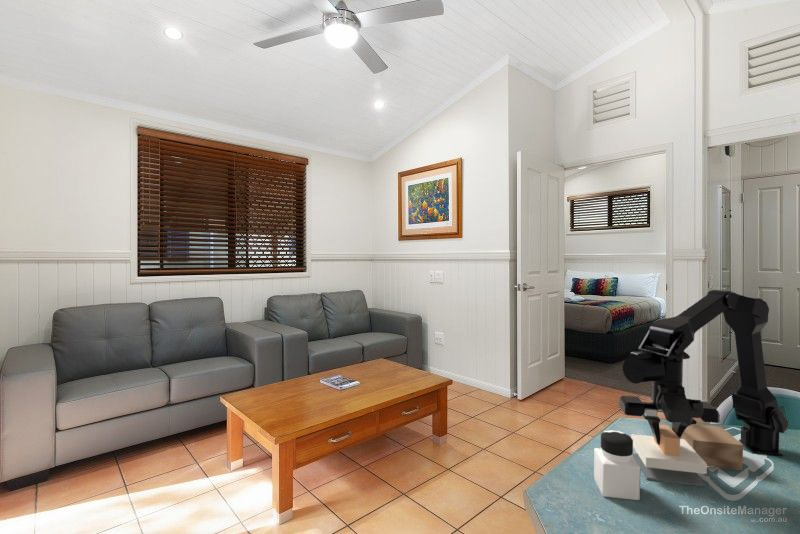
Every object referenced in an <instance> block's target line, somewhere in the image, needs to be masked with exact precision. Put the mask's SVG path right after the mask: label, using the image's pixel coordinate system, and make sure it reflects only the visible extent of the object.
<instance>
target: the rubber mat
mask: <svg viewBox="0 0 800 534" xmlns="http://www.w3.org/2000/svg"><path fill="white" fill-rule="evenodd" d="M633 458H634V459H635V461H636V462H637V463H638V465H639V466H640V472H641V473H642V474H643V476H644V477H645V480H647V481H654V482H662V483H672V484H679V485H687V486H694V487H695V486H696V487H705V484H704V483H703V481H702V480H701V479H700V478H699V477H698V475H697V473H693V472H685V471H676V470H667V469H658V468H649V467H646V466H645V465H644V463H643V461H642V460H641V458H640V457H639V455H638V453H634V452H633Z"/></svg>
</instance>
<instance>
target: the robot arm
mask: <svg viewBox="0 0 800 534" xmlns="http://www.w3.org/2000/svg"><path fill="white" fill-rule="evenodd" d="M769 313H770V308H769V305H768V303H767V301H765V300H763V298H760V297H752V296H751V297H749V296H745V295H741V294H739V293H736V292H733V291H732V290H731V291H730V290H722V289H721V290H720V289H711V290H708V292H707V293H706V295H705V296H704V297H702V298H701V299H699V300H698V301H696V302H694V304H692V305H690V306H689V307H688V308H687V309H685V310H683V311H682V312H681V313H679V314H678V315H676V316H673V317H667V318H662V319H661V320H659V321H656V322H654V323H652V325H650V326H649V328H648V331H647V333H646V334H645V336H644V338H643V340H641V343H640V345H639V346H638V348H637V351H631V352H630V353H629V354H630V355H629V357H627V358H625V360H624V362H623V364H622V372H623V373H622V374H623V375H624V377H625V378H626V380H627V381H629V382H630V383H632V384H636V385H637V384H643V383H644V384H645V383H651V384H652V394H651V395H650V400H651V401H652V402H651V401H650V402H649V401H642V400H641V399H640V397H639V396H634V395H632V396H631V395H621V396H620V398H619V401H618V404H619V405H618V406H619V408H620V410H621V411H622V412H623V414H624V415H626V416H633V417H643V418H644V419H645V420H646V421H647V422H648V424H649V426H650V429H651V433H652V436H654V438H655V440H656V443H657V444H658V445H660V429H659V425H660V423H661V418H660V417H659V416H658V412H659V413H663V414H664V415H663V416H664V418H665V420H666V421H667V422H669V423H671V429H672V430H673V431H674V432H675V434H676V435H677V436H678V437H679V438H681V436H682V434H683V432H684V431H685V429H686V428H687V427H688V426H689V425H691V424H698V421H697V420H695V419H701V420H702V422H705V423H713V424H719V423H720V422H721V421H720V418H721V417H720V412H719V410H718V409H717V408H716V407H714V406H713V405H712V404H710V403H709V402H708V401H702V400H701V399H691V398H687V396H686V390H685V387H684V386H683V379H684V378H683V377H684V376H683V375H684V373H683V372H684V370H683V368H684V364H683V363H684V362H683V361H684V360H689V359H690V358H691V356H690V355H689V354H688V353H687V352H685V350H686V349H688V347H689V346H690V345H691V344H693V342H694V341H695V334H696V333H697V331H698V332H699V330H701V329H702V328H703V327H705V326H706V325H707V324H709V323H710V322H711V321H713V320H714V319H715V318H717V317H719V315H721V314H723V318H724V321H725V323H726V325H728V326H729V327H730V329H731V330H732V332H733V334H734V340H735V348H736V356H737V365H738V373H739V382H740V386H739V388H738V389H736V390H737V391H736V392H734V393H732V394H731V398H732V409H734V412H735V417H736V420H738V421H742V423H743V424H742V426H741V427H740V439H739V440H738V441H739V442H740V443H741V444H743V447H745V448H747V449H748V450H749V451H750V452H751V453H755V454H763V455H764V454H765V455H773V456H784V453H783V452H782V451H780V450H779V449H780V433H781V434H784V433H785V431H787V430H788V428H789V427H788V426H789V421H788V419H787V418H786V417H785V416H784V414H783V413H782V412H781V410H780V408H779V405H778V404H779V403H778V400H777V398H776V396H775V395H774V394H773V393H772V392H771V391H770V389H769V388H768V385H767V377H766V368H765V363H764V362H765V361H764V353H763V352H764V351H763V344H762V343H763V342H762V334H761V333H762V330H763V329H764V327H766V325H767V324H768V322H769Z"/></svg>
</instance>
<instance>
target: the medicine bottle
mask: <svg viewBox="0 0 800 534" xmlns="http://www.w3.org/2000/svg"><path fill="white" fill-rule="evenodd" d="M593 451H594V453H593V454H594V455H593V458H594V459H593V462H594V463H593V479H594V481H595V483H596V486H597V487H598V488H599V492H600V493H601V496H602V497H605V498H614V499H620V500H621V499H622V500H630V501H631V500H632V501H641V469H640V466H639V465H638V463H637V462H636V461H635V459H634V458H633V453H634V447H633V440H632V438H631V435H629V434H627V433H625V432H623V431H620V430H619V431H618V430H612V429H611V430H609V429H608V430H605V431H603V432H601V433H600V448H599V447H595V448H594V449H593Z"/></svg>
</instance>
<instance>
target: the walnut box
mask: <svg viewBox="0 0 800 534" xmlns="http://www.w3.org/2000/svg"><path fill="white" fill-rule="evenodd" d="M680 439H684V440H685V441H686V442H687V443H688V444H689V445H690V446H691V447H692V448H693V449H694V450H695V451H696V453H697V454H698V455H699V456H700V457H701V458H702V459H703V460H704V461H705V462H706V463H707V466H714V467H713V468H716V467H719V469H724V470H725V469H726V470H736V471H743V460H744V459H743V458H744V445H743V444H742V443H741V442H739V440H738V439H737V438H736V437H735V436H733V435H732V434H731V433H729V432H728V431H727V430H726V429H725V428H724V427H722V426H718V425H708V424H707V425H706V424H698V423H696V424H691V425H689V426H688V427H687V428H686V429H685V431H684V432H683V434H682V436H681V438H680Z"/></svg>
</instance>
